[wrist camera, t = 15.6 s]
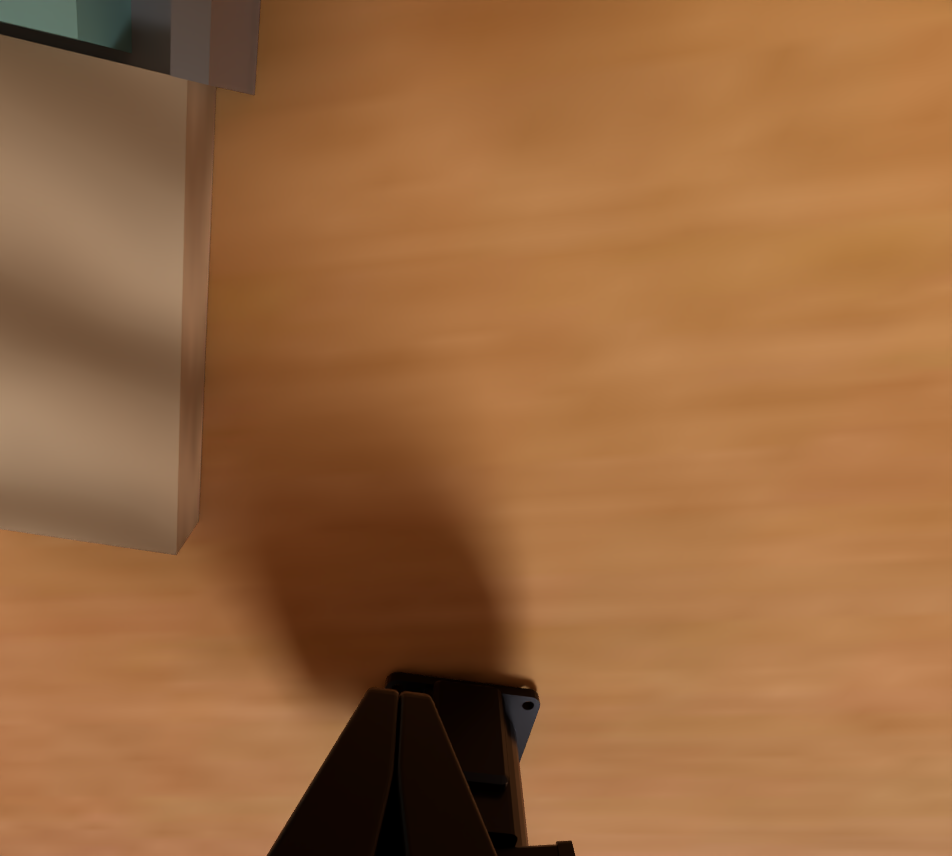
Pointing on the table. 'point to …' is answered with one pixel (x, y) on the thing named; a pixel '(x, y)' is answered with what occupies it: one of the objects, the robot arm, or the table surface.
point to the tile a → (74, 20)
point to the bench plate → (102, 297)
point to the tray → (181, 41)
